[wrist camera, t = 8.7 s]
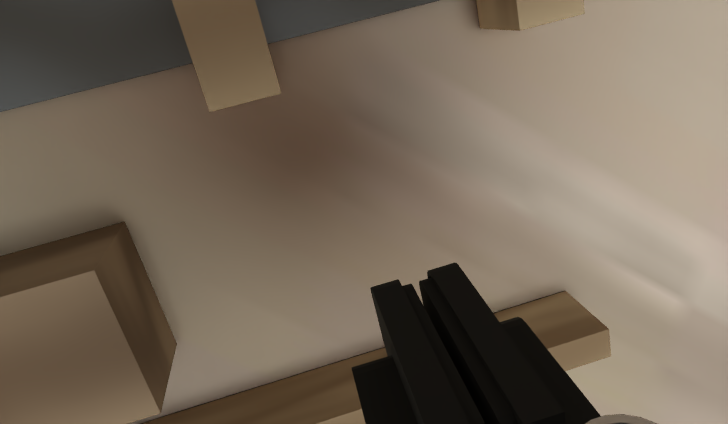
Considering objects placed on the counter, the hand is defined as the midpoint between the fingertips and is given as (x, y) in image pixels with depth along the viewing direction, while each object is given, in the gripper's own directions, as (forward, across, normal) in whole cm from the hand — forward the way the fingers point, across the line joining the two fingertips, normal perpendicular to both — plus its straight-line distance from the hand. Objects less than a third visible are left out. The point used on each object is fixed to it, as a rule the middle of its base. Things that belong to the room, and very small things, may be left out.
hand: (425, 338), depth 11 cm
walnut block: (+10, +10, +2) cm, 14 cm away
